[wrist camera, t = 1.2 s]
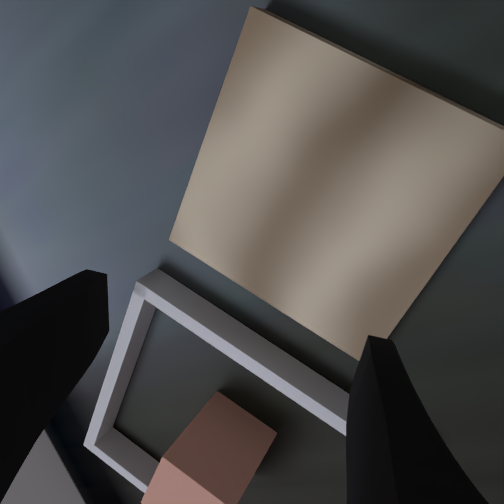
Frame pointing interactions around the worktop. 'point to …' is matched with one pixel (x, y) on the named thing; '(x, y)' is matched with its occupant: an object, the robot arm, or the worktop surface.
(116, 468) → the tray
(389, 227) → the board
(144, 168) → the worktop surface
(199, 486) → the terracotta block
